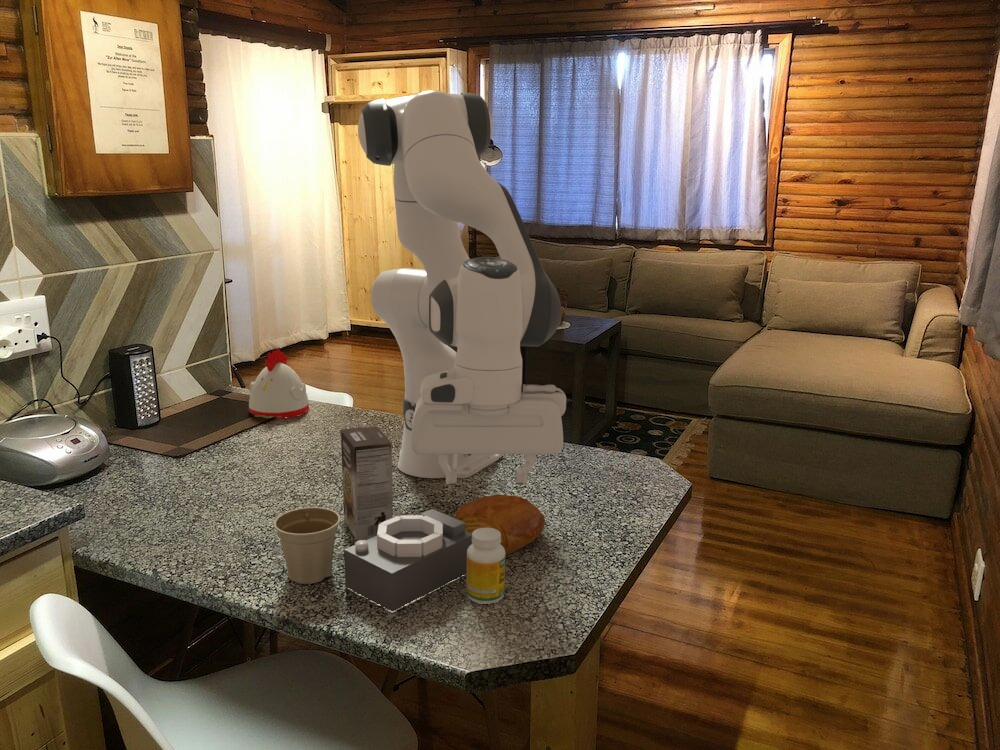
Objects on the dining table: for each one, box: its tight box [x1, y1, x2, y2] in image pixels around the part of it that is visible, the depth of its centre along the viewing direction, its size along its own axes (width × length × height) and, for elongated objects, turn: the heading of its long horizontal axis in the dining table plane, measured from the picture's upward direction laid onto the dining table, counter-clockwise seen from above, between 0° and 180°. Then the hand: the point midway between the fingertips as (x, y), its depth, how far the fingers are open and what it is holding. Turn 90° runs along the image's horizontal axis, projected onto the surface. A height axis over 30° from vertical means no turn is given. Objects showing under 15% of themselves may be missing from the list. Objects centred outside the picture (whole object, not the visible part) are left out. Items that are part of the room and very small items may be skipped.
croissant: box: [453, 494, 546, 556], centre depth 131 cm, size 14×16×8 cm
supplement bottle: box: [466, 528, 506, 605], centre depth 113 cm, size 5×5×10 cm
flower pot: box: [273, 506, 342, 585], centre depth 118 cm, size 9×9×9 cm
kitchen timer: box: [248, 348, 310, 418], centre depth 193 cm, size 14×14×15 cm
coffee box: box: [340, 425, 393, 542], centre depth 133 cm, size 9×6×16 cm
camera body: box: [343, 508, 472, 611], centre depth 117 cm, size 16×10×8 cm, turn 139°
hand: (486, 483), depth 110 cm, fingers open, 8 cm apart
